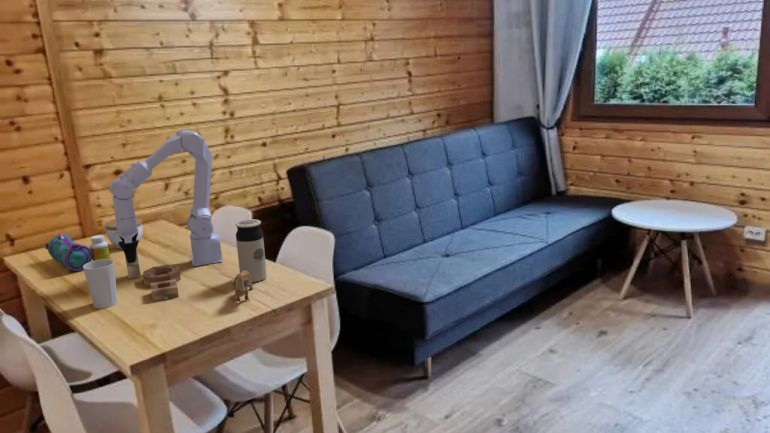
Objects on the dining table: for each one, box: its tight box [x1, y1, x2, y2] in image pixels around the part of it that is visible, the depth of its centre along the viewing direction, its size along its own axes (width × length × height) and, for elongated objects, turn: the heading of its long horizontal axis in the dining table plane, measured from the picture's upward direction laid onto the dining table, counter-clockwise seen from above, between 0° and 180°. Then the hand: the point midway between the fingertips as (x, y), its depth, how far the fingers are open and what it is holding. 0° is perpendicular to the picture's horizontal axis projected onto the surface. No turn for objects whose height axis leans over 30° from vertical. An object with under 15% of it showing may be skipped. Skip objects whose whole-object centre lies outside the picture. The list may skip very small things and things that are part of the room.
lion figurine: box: [232, 270, 254, 302], centre depth 171 cm, size 15×5×9 cm, turn 13°
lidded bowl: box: [104, 217, 144, 250], centre depth 221 cm, size 13×13×11 cm
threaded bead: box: [150, 279, 179, 302], centre depth 175 cm, size 7×7×3 cm
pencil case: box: [44, 233, 93, 272], centre depth 203 cm, size 21×9×10 cm, turn 45°
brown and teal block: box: [124, 249, 141, 280], centre depth 190 cm, size 4×4×10 cm
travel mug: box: [235, 218, 268, 283], centre depth 183 cm, size 8×8×18 cm
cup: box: [83, 258, 119, 309], centre depth 169 cm, size 8×8×12 cm
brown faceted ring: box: [142, 264, 182, 287], centre depth 186 cm, size 10×10×3 cm
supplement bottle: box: [89, 234, 111, 261], centre depth 202 cm, size 5×5×10 cm
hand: (131, 258), depth 189 cm, fingers open, 7 cm apart
